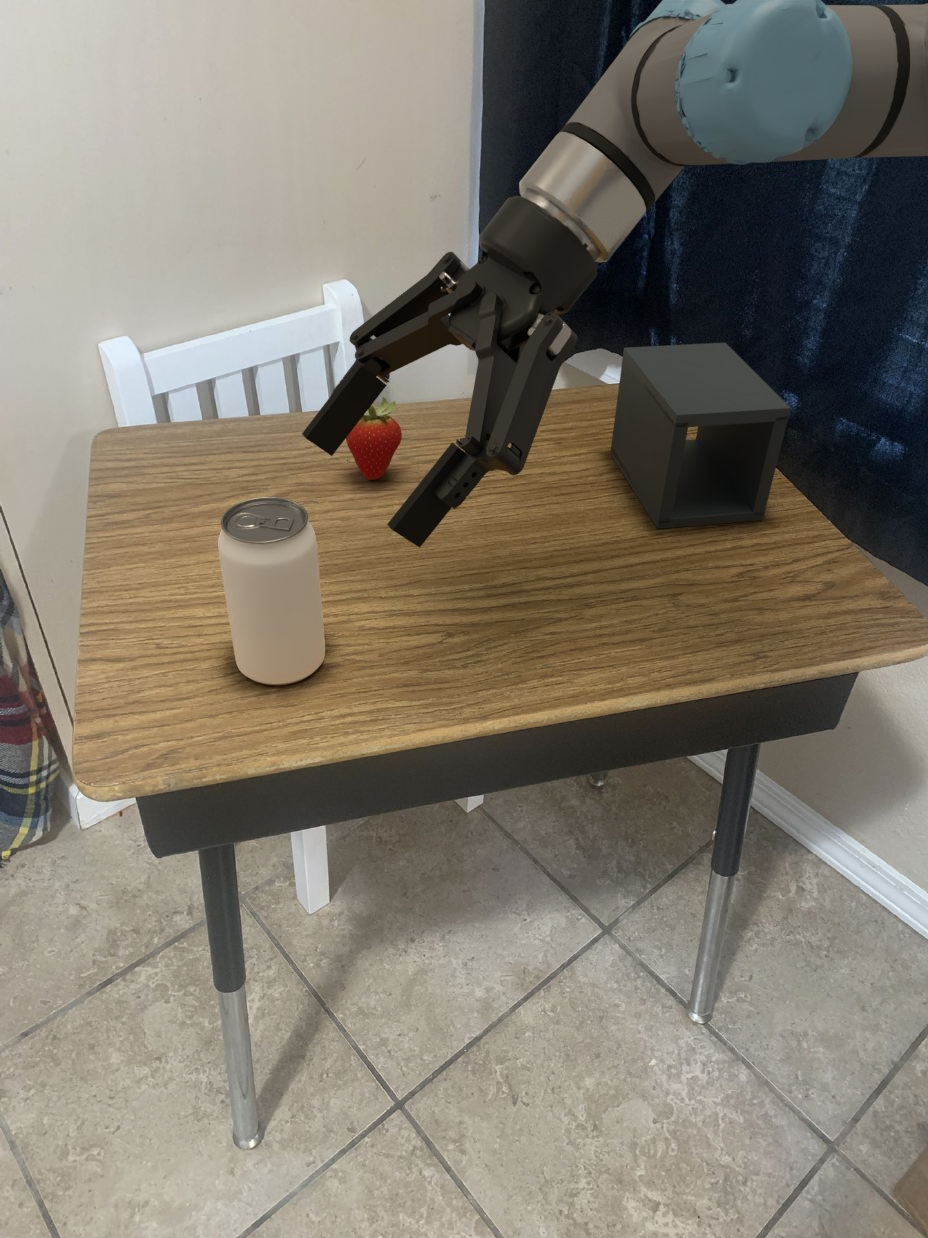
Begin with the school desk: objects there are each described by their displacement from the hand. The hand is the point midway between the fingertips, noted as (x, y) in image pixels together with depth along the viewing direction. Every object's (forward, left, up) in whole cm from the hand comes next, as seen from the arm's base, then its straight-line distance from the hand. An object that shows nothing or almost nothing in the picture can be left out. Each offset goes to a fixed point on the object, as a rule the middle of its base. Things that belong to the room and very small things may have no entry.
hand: (356, 488), depth 66 cm
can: (+1, +7, -13) cm, 14 cm away
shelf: (-1, -36, -12) cm, 38 cm away
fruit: (+18, -14, -13) cm, 26 cm away
